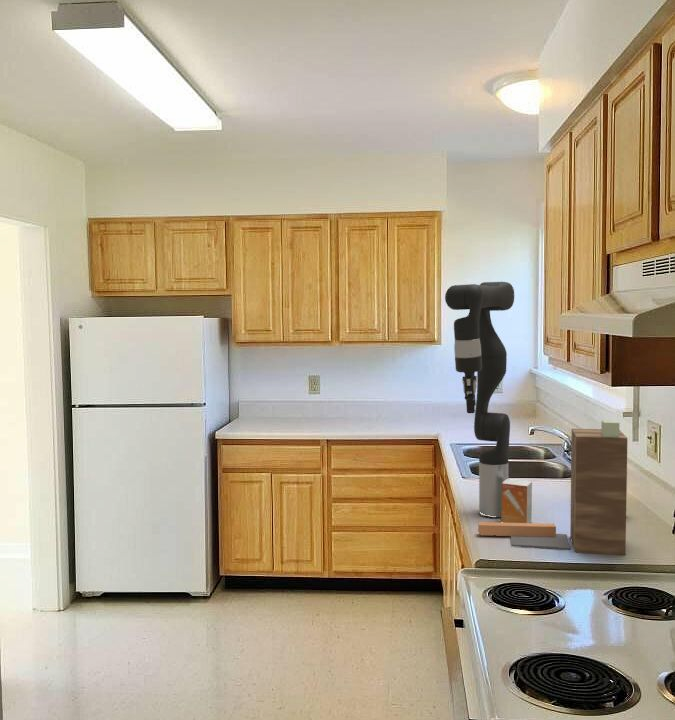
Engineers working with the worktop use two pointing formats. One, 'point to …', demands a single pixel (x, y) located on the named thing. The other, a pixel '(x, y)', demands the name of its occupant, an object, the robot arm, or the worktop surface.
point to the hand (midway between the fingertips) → (471, 409)
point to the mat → (542, 542)
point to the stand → (598, 492)
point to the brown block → (517, 529)
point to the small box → (516, 501)
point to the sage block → (610, 428)
